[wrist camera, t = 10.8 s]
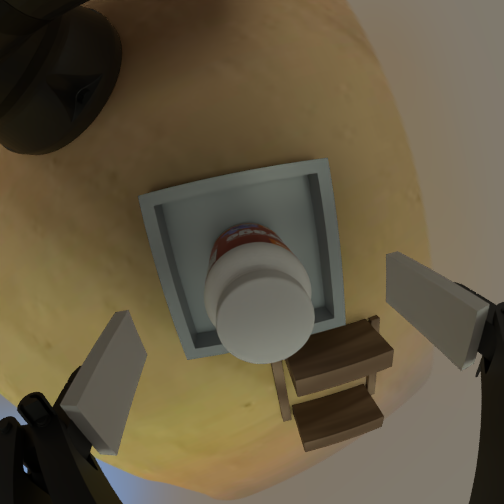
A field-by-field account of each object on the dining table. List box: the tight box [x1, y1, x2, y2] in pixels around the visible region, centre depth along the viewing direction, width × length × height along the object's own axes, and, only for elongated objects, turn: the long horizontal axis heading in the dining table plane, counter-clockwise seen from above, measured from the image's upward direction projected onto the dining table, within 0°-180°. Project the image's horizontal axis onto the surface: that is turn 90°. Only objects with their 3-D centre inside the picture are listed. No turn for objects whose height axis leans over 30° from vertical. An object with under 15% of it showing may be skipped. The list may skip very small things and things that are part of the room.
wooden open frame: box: [271, 316, 394, 452], centre depth 25 cm, size 12×12×6 cm
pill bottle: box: [204, 223, 315, 364], centre depth 18 cm, size 6×6×11 cm
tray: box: [138, 158, 346, 360], centre depth 22 cm, size 14×14×3 cm
